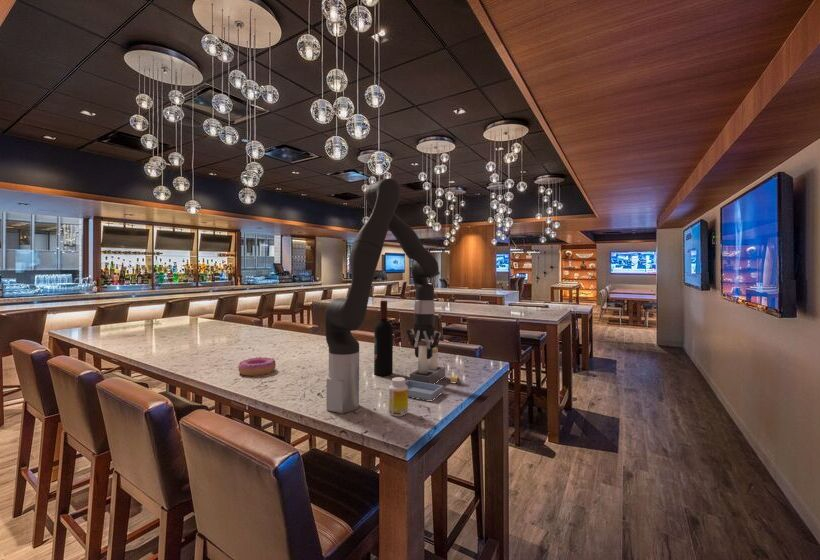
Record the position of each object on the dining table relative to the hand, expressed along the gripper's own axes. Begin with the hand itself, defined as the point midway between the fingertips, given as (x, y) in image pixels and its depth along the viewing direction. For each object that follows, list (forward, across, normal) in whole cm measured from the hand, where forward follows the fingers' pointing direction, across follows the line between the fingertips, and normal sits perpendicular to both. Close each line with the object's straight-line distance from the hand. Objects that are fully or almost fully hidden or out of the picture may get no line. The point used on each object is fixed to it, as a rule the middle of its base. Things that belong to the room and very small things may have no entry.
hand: (423, 357), depth 135 cm
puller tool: (+10, +8, +10) cm, 16 cm away
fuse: (+10, 0, +8) cm, 13 cm away
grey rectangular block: (+10, 0, +4) cm, 11 cm away
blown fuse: (+6, 0, 0) cm, 6 cm away
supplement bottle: (+10, +6, -29) cm, 32 cm away
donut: (+11, -67, -19) cm, 71 cm away
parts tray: (+10, +4, -11) cm, 15 cm away
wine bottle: (+10, -20, +4) cm, 23 cm away
